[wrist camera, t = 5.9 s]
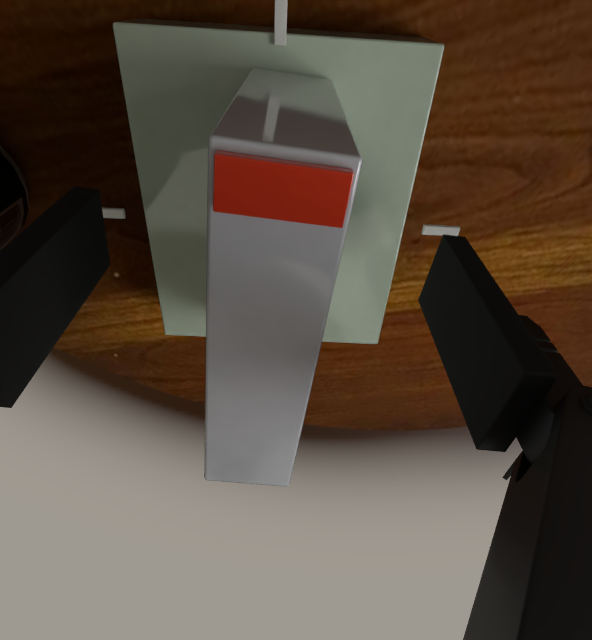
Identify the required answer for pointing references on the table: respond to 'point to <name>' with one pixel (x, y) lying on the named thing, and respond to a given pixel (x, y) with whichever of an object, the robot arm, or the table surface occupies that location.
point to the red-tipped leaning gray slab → (271, 266)
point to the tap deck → (208, 107)
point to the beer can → (11, 198)
